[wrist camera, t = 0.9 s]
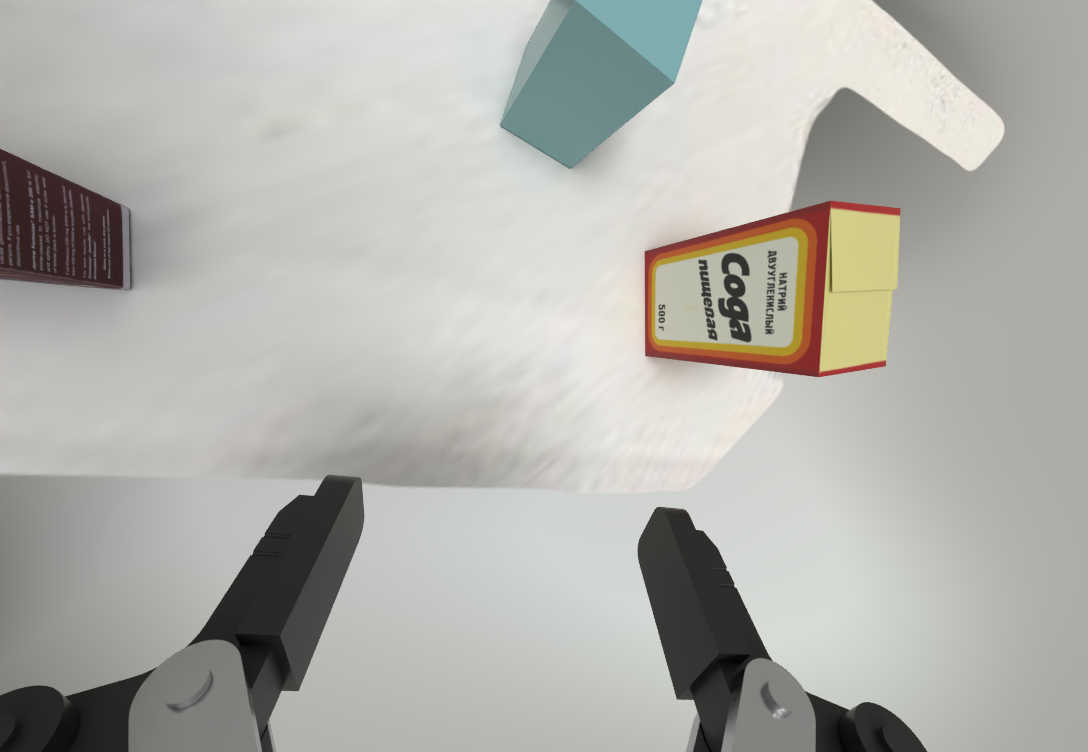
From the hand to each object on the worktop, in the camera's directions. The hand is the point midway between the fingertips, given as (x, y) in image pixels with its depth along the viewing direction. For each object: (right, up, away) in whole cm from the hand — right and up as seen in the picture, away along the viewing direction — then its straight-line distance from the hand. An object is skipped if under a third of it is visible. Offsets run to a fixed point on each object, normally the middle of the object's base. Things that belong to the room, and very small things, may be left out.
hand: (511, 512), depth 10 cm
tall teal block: (+1, +24, +19) cm, 31 cm away
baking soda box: (+13, +11, +26) cm, 31 cm away
